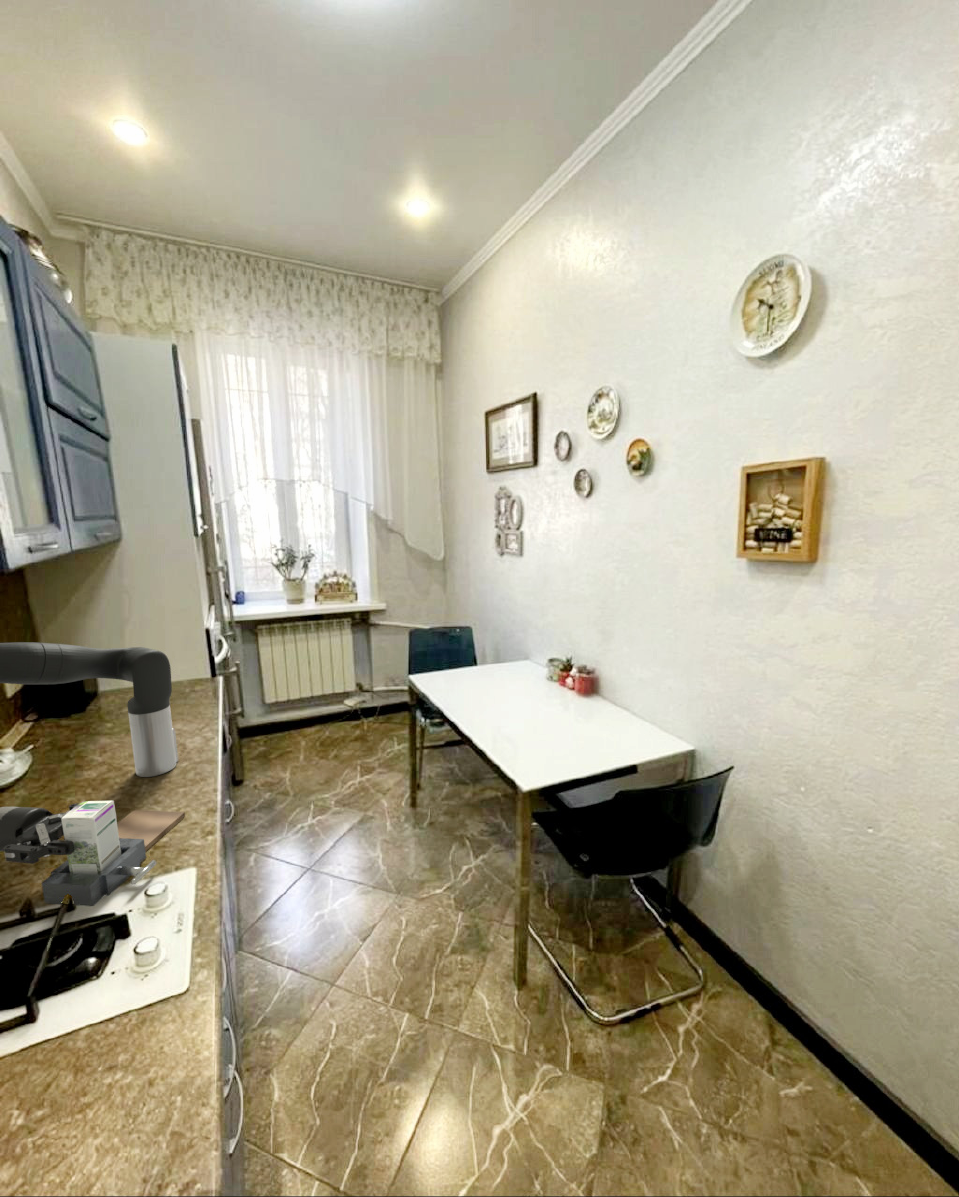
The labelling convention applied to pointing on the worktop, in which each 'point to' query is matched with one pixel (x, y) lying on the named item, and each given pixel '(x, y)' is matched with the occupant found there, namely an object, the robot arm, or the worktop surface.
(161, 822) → the walnut board
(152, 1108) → the worktop surface
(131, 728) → the robot arm
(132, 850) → the vise
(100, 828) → the syrup box
